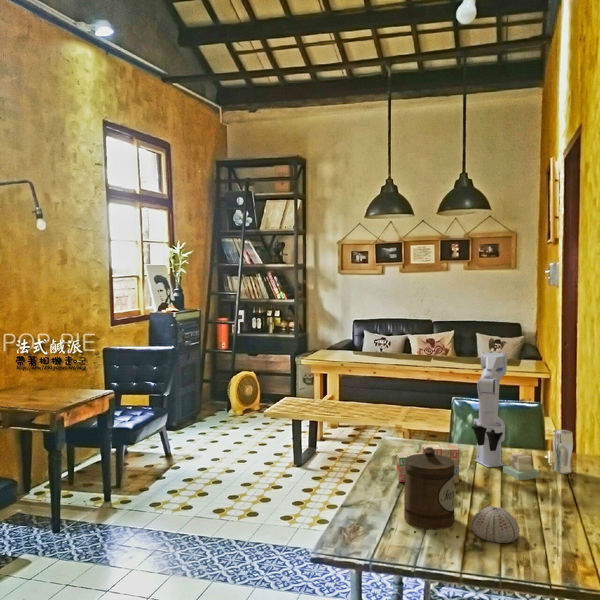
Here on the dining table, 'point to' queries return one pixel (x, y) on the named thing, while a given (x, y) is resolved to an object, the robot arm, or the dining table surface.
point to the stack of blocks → (440, 449)
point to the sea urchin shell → (495, 525)
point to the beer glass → (562, 450)
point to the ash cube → (520, 462)
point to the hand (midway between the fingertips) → (486, 447)
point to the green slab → (521, 473)
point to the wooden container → (429, 490)
